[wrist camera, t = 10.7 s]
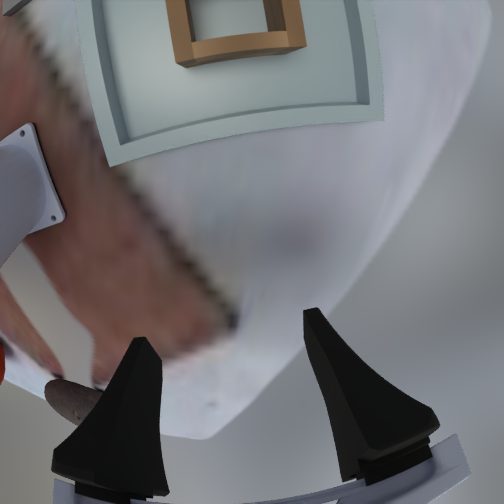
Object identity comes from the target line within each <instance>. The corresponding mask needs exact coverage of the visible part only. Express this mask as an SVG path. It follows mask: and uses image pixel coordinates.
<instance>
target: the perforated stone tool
mask: <svg viewBox="0 0 504 504" xmlns="http://www.w3.org/2000/svg"><path fill="white" fill-rule="evenodd" d="M44 393H45V398H46V400H47V401H48V403H49V404H50V405H51V406H52V407H53V409H54V410H55V411H56V412H58V413H59V414H60V415H61V416H63V417H64V418H66V419H67V420H69V421H70V422H72V423H74V424H75V425H77V426H79V425H80V424H81V423H82V422H83V420H84V419H85V418H86V417H87V415H88V414H89V413H90V412H91V410H92V409H93V408H94V406H95V405H96V403H97V402H98V400H99V399H100V397H101V396H102V394H103V392H100V391H97V390H94V389H92V388H89V387H85V386H83V385H80V384H77V383H74V382H70V381H67V380H62V379H55V380H51V381H49V382H48V383H47V384H46V386H45V391H44Z"/></svg>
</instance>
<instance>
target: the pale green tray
mask: <svg viewBox="0 0 504 504" xmlns="http://www.w3.org/2000/svg"><path fill="white" fill-rule="evenodd" d="M299 1H300V7H301V12H302V18H303V24H304V30H305V37H306V44H307V47H304V48H301V49H299V50H296V51H293V52H290V53H288V54H284V55H269V56H258V57H249V58H241V59H233V60H227V61H220V62H215V63H209V64H204V65H199V66H194V67H190V68H184V67H182V66H180V65H178V64H176V62H175V57H174V51H173V46H172V40H171V34H170V28H169V22H168V16H167V9H166V3H165V0H75V9H76V19H77V28H78V35H79V42H80V49H81V55H82V60H83V66H84V71H85V76H86V81H87V86H88V90H89V95H90V99H91V103H92V107H93V111H94V115H95V119H96V123H97V126H98V130H99V133H100V137H101V140H102V144H103V147H104V150H105V154H106V157H107V160H108V163H109V166H110V167H112V166H115V165H118V164H121V163H124V162H127V161H131V160H134V159H137V158H141V157H144V156H147V155H151V154H154V153H158V152H162V151H166V150H169V149H173V148H177V147H181V146H185V145H190V144H194V143H198V142H203V141H208V140H212V139H217V138H222V137H227V136H233V135H238V134H244V133H250V132H256V131H263V130H270V129H277V128H285V127H294V126H303V125H314V124H326V123H341V122H365V121H384V94H383V79H382V67H381V57H380V49H379V41H378V34H377V27H376V21H375V16H374V10H373V5H372V0H299ZM189 3H190V9H191V15H192V21H193V27H194V33H195V39H196V41H201V40H206V39H212V38H218V37H224V36H231V35H239V34H248V33H259V32H268V29H267V23H266V17H265V11H264V5H263V0H189Z"/></svg>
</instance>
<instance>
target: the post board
mask: <svg viewBox="0 0 504 504" xmlns="http://www.w3.org/2000/svg"><path fill="white" fill-rule="evenodd" d="M30 1H31V0H3V16H11V15H12V14H13V13H15V12H16V11H17V10H19V9H20V8H21V7H23V6H24V5H25V4H27V3H28V2H30Z"/></svg>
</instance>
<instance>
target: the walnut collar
mask: <svg viewBox="0 0 504 504" xmlns="http://www.w3.org/2000/svg"><path fill="white" fill-rule="evenodd" d="M165 3H166V9H167V16H168V22H169V28H170V34H171V40H172V46H173V51H174V57H175V62H176V64H178V65H180V66H182V67H184V68H190V67H194V66H199V65H204V64H209V63H215V62H220V61H227V60H233V59H241V58H249V57H258V56H269V55H284V54H288V53H290V52H293V51H296V50H299V49H301V48H304V47H307V44H306V37H305V30H304V24H303V18H302V12H301V7H300V1H299V0H263V5H264V11H265V17H266V23H267V29H268V32H259V33H248V34H239V35H231V36H224V37H218V38H212V39H206V40H201V41H196V39H195V33H194V27H193V21H192V15H191V9H190V3H189V0H165Z"/></svg>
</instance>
